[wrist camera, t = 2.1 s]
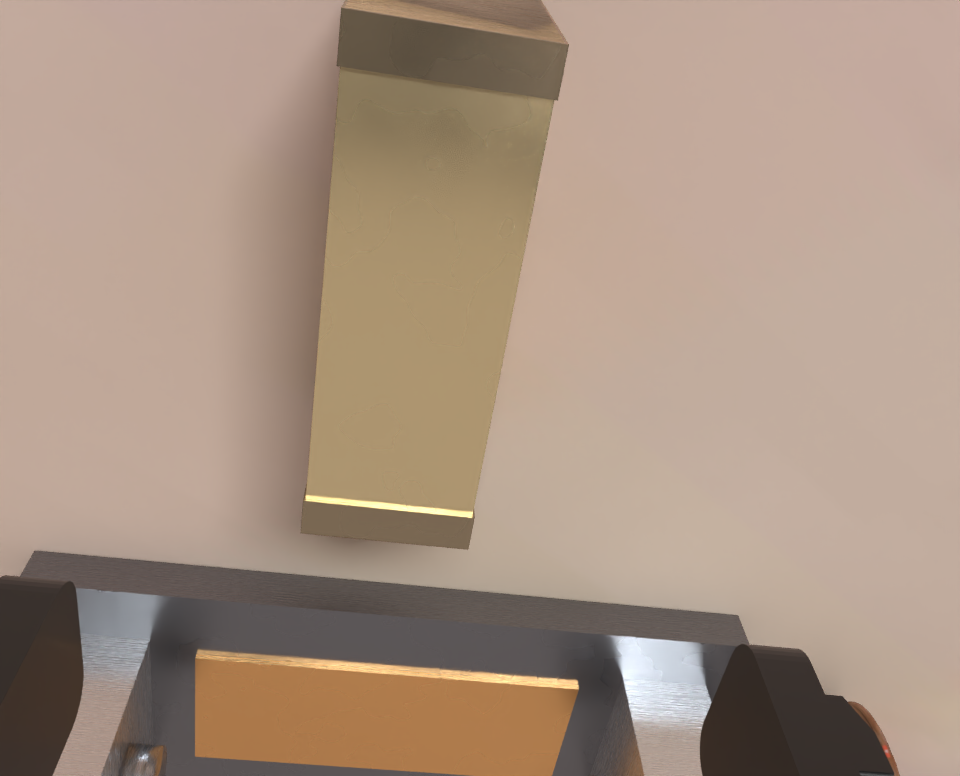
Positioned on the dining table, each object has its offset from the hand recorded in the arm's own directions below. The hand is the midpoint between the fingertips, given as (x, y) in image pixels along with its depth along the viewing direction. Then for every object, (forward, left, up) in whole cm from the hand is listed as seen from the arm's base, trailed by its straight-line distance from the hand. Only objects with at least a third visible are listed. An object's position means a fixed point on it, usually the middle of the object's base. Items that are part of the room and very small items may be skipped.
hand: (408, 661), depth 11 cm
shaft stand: (+1, -18, -15) cm, 24 cm away
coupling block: (0, 0, -16) cm, 16 cm away
